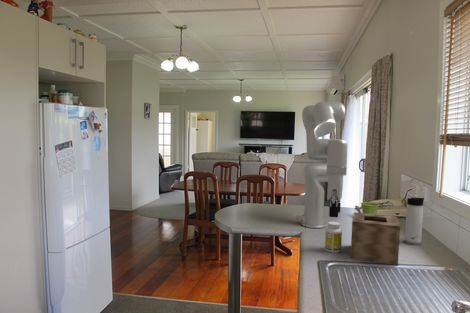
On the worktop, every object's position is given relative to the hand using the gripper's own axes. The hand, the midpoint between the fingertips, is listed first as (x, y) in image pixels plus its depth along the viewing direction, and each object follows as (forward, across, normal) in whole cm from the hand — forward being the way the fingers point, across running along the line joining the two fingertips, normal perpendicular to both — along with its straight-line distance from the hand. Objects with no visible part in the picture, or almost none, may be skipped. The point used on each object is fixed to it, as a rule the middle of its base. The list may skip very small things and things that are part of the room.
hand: (334, 214), depth 136 cm
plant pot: (+13, -62, +13) cm, 65 cm away
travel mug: (+14, -26, +31) cm, 43 cm away
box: (+15, -2, +15) cm, 21 cm away
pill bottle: (+15, -1, 0) cm, 15 cm away
